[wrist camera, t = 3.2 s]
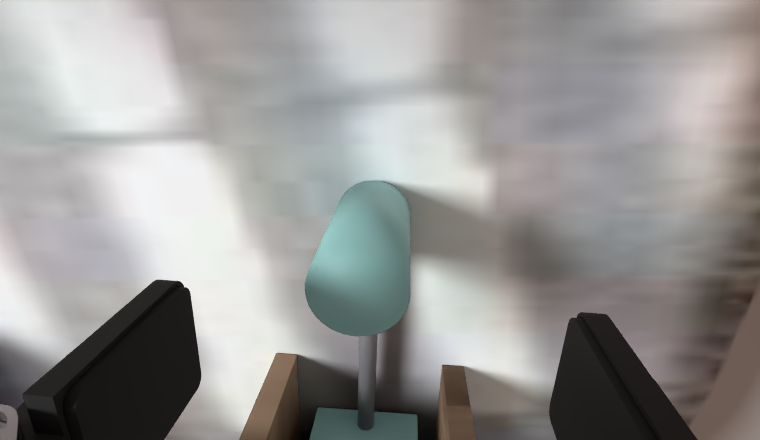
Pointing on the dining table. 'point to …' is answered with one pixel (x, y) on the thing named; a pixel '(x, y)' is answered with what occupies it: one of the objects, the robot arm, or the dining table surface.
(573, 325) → the robot arm
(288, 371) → the open wooden box
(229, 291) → the dining table surface
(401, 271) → the teal blocks with rod
